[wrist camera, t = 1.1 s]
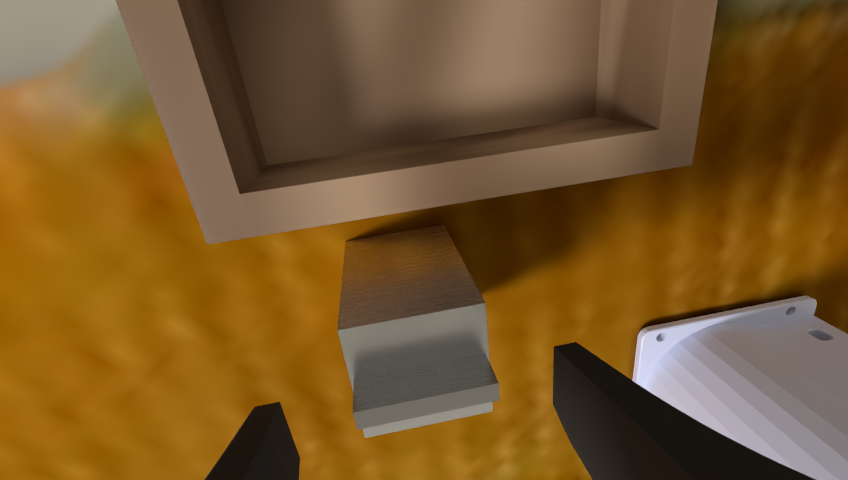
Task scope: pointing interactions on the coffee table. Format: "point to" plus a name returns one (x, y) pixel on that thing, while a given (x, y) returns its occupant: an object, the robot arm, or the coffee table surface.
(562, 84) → the well block
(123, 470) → the coffee table surface
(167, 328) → the coffee table surface
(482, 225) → the coffee table surface
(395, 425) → the bracket
